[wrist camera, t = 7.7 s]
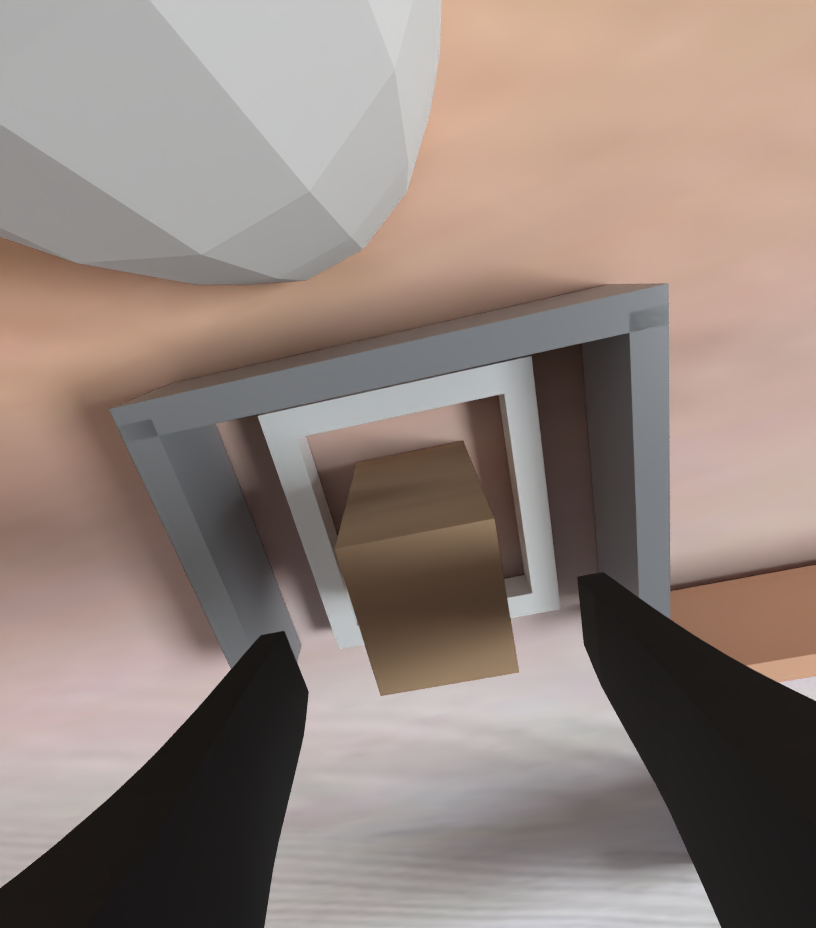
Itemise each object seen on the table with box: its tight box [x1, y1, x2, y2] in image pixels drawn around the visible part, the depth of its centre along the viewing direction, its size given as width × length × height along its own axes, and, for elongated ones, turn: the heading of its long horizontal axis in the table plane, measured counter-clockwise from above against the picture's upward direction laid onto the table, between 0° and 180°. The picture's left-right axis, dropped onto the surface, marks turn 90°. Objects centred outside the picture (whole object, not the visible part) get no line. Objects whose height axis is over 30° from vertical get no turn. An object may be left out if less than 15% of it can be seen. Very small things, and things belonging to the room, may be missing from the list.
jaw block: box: [335, 441, 519, 696], centre depth 15 cm, size 5×4×6 cm
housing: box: [109, 283, 670, 669], centre depth 16 cm, size 12×15×4 cm
